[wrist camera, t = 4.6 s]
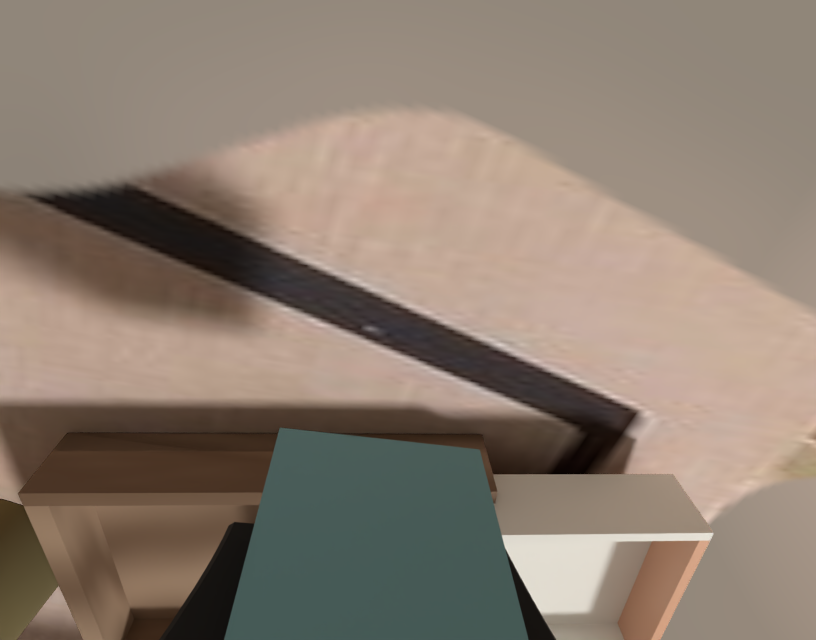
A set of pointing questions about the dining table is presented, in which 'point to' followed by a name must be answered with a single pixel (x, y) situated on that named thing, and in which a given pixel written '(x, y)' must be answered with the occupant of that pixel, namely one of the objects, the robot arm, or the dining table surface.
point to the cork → (21, 571)
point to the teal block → (375, 546)
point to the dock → (152, 517)
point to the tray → (601, 549)
